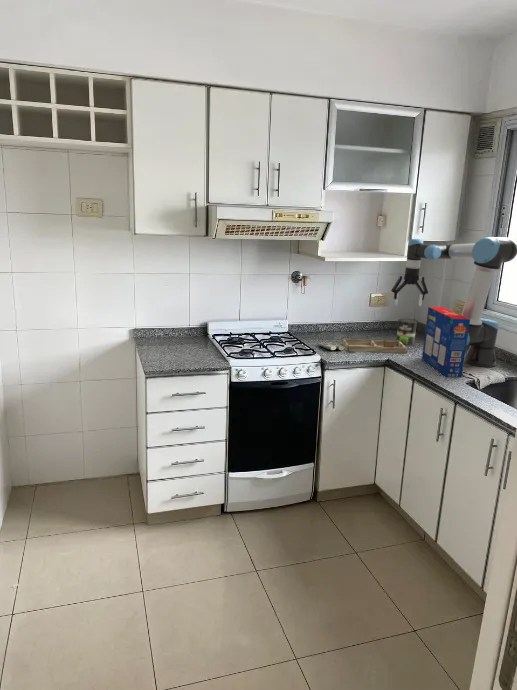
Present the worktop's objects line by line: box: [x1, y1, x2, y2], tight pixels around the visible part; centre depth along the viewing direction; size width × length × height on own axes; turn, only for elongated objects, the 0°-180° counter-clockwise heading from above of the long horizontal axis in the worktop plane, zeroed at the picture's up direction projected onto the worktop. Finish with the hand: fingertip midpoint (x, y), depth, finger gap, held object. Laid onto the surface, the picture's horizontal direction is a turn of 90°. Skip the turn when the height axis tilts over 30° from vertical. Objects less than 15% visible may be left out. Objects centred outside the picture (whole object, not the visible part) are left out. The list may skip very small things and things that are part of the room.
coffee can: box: [395, 318, 418, 347], centre depth 296 cm, size 10×10×14 cm
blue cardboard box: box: [421, 306, 470, 378], centre depth 252 cm, size 28×8×28 cm, turn 5°
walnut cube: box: [383, 339, 395, 347], centre depth 283 cm, size 4×4×4 cm
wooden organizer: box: [342, 338, 409, 354], centre depth 284 cm, size 16×32×4 cm, turn 90°
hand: (407, 305), depth 291 cm, fingers open, 13 cm apart
